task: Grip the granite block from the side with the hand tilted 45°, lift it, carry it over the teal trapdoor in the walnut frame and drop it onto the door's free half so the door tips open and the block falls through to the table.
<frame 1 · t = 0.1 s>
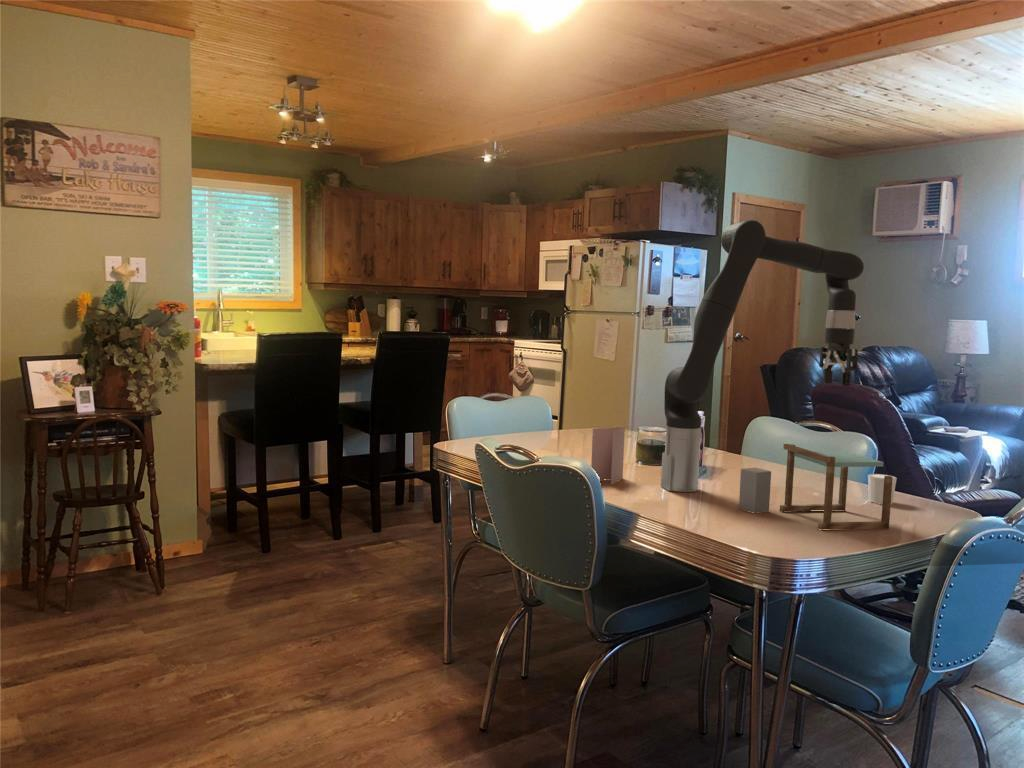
hand: (836, 384, 217), 29 cm above the table, tool pointing down, fingers open, 8 cm apart
trapdoor: (837, 458, 181), point 14 cm above the table, hinge at 0.0°
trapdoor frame: (833, 519, 182), on the table
greeting card: (613, 482, 218), on the table
white cup: (880, 503, 202), on the table
granite block: (753, 510, 189), on the table
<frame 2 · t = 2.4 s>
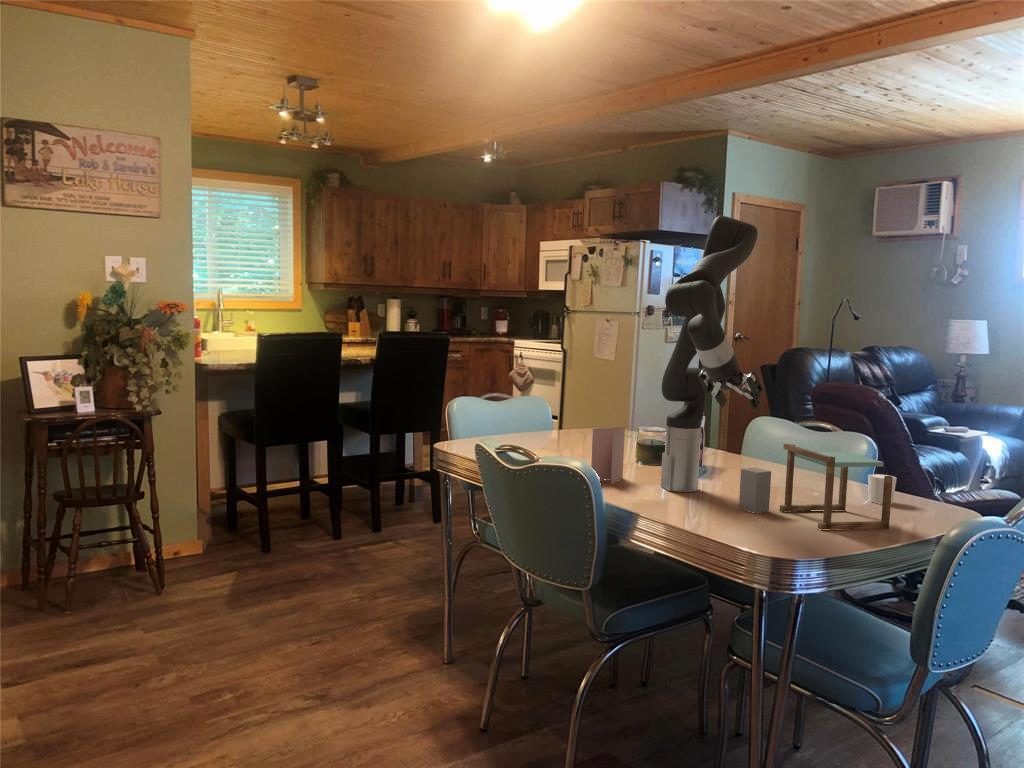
hand: (739, 405, 182), 26 cm above the table, tool tilted 45°, fingers open, 8 cm apart
nothing on the table moved.
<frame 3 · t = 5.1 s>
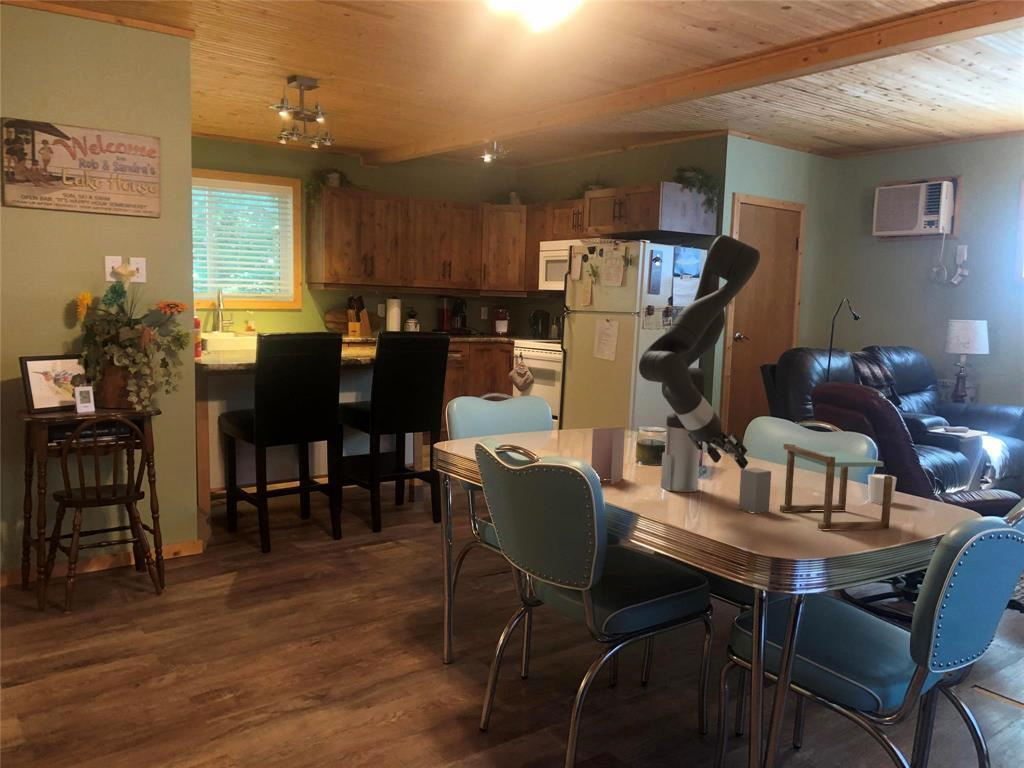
hand: (731, 462, 184), 12 cm above the table, tool tilted 45°, fingers open, 8 cm apart
nothing on the table moved.
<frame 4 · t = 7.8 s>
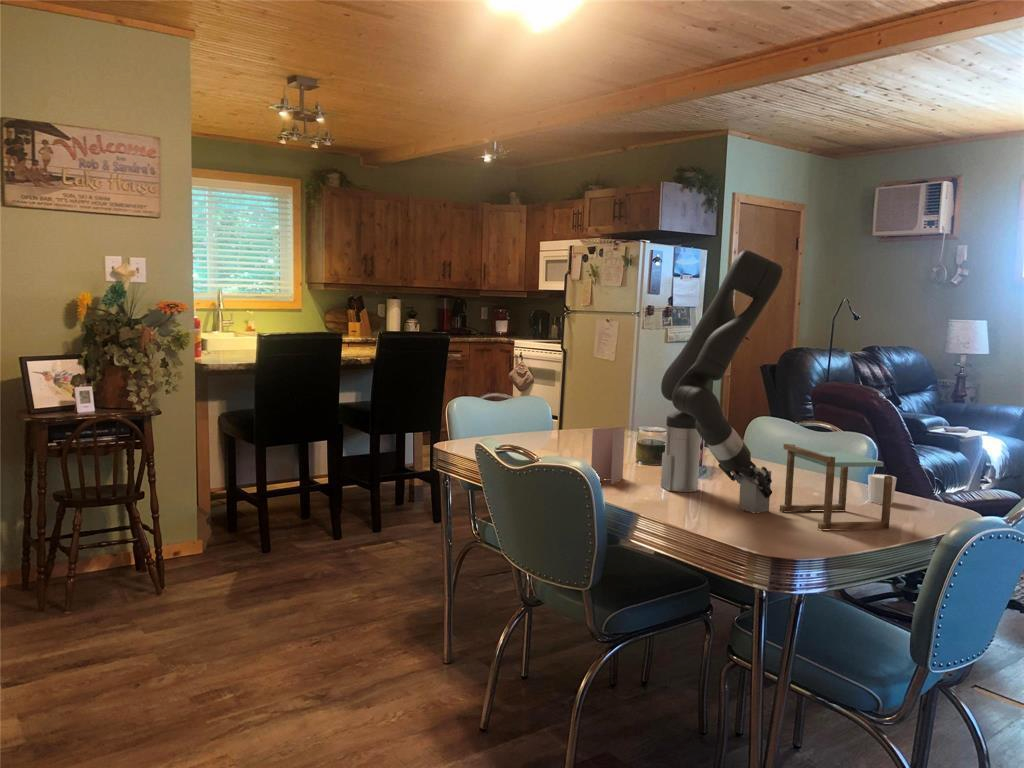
hand: (759, 492, 190), 4 cm above the table, tool tilted 45°, fingers closed on granite block, 5 cm apart
granite block: (753, 510, 189), on the table, touching gripper
everything else where it was.
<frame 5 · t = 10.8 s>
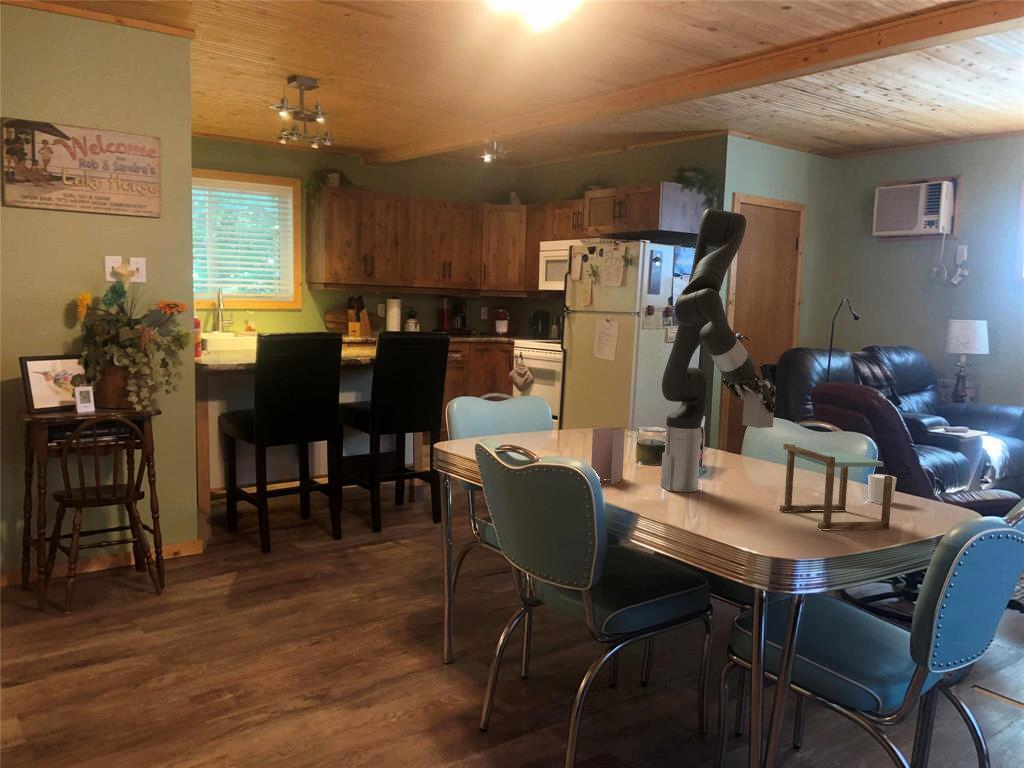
hand: (763, 408, 188), 25 cm above the table, tool tilted 45°, fingers closed on granite block, 5 cm apart
granite block: (757, 426, 188), point 21 cm above the table, touching gripper
everything else where it was.
when the fingers open (22 cm above the table, at t = 13.9 s): granite block drops 8 cm and tips over, point 10 cm above the table.
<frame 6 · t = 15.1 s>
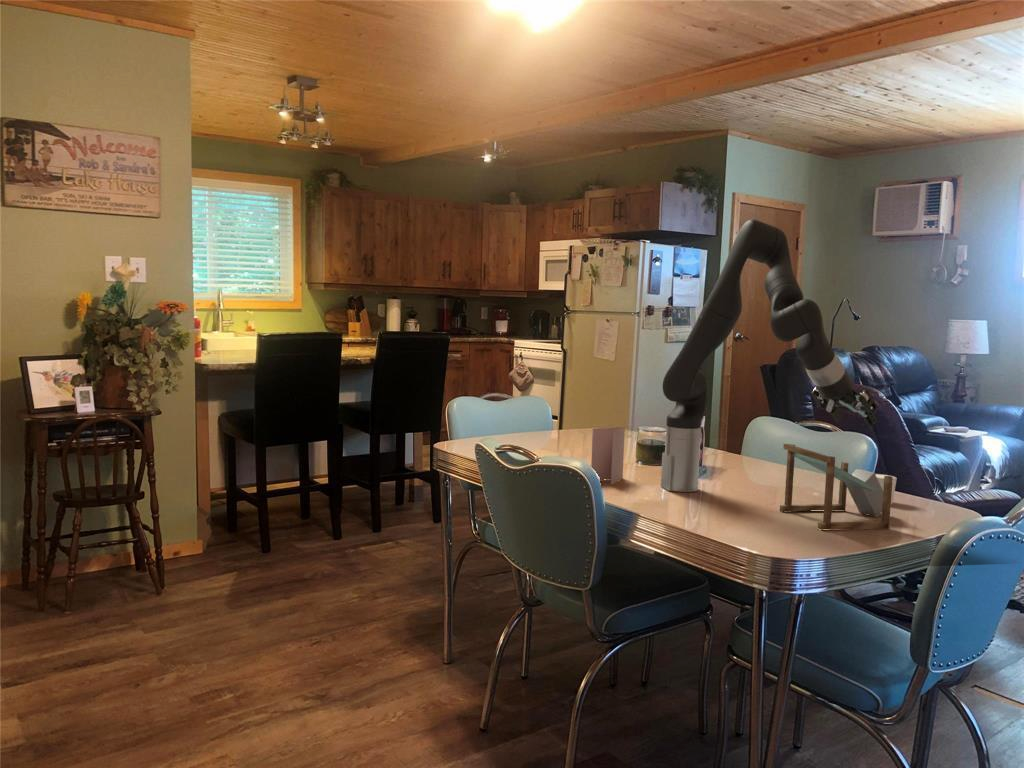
hand: (856, 421, 181), 23 cm above the table, tool tilted 45°, fingers open, 8 cm apart
trapdoor: (833, 471, 181), point 11 cm above the table, hinge at -25.4°
granite block: (859, 477, 186), point 10 cm above the table, tilted 144°
everything else where it was.
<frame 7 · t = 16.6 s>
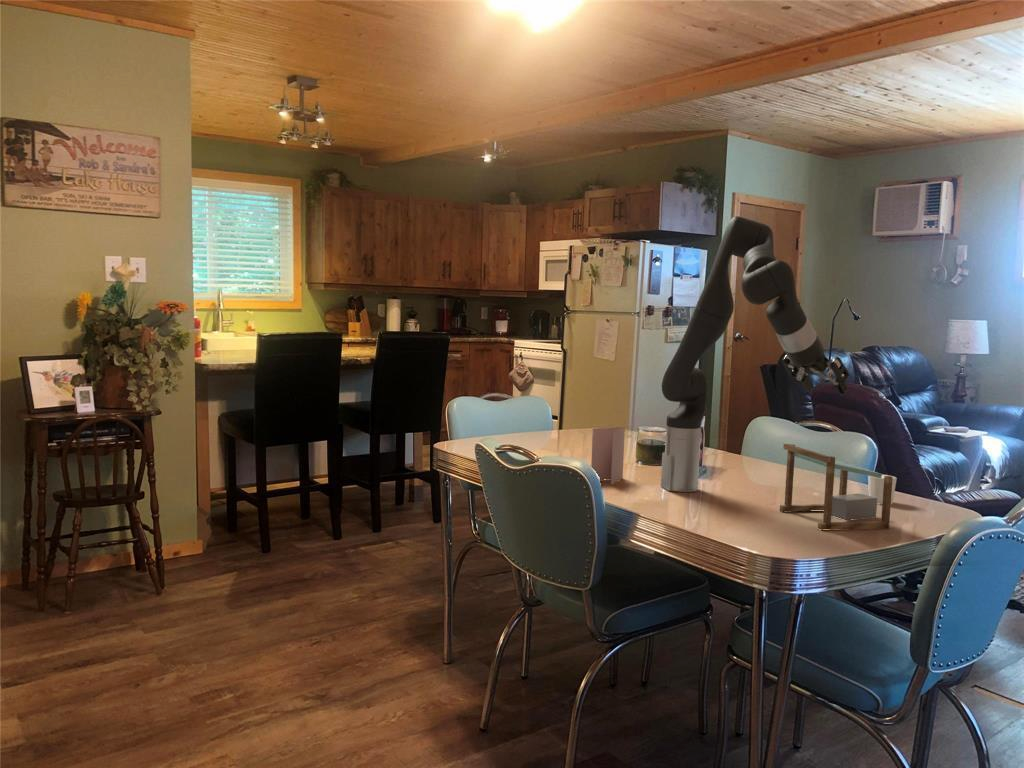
hand: (826, 390, 176), 31 cm above the table, tool tilted 45°, fingers open, 8 cm apart
trapdoor: (836, 464, 181), point 13 cm above the table, hinge at -11.0°
granite block: (837, 508, 184), point 2 cm above the table, tilted 90°
everything else where it was.
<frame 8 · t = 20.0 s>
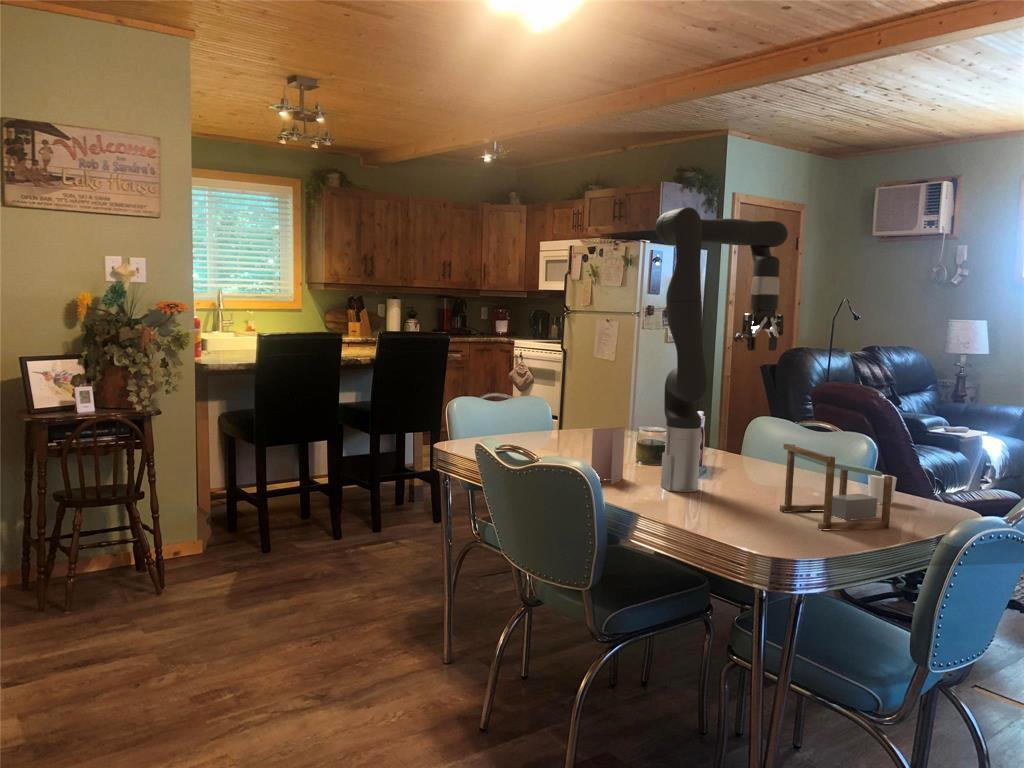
hand: (761, 350, 221), 38 cm above the table, tool pointing down, fingers open, 8 cm apart
trapdoor: (836, 463, 181), point 13 cm above the table, hinge at -9.6°
everything else where it was.
at the end: granite block point 2.3 cm above the table; the gripper is holding nothing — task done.
